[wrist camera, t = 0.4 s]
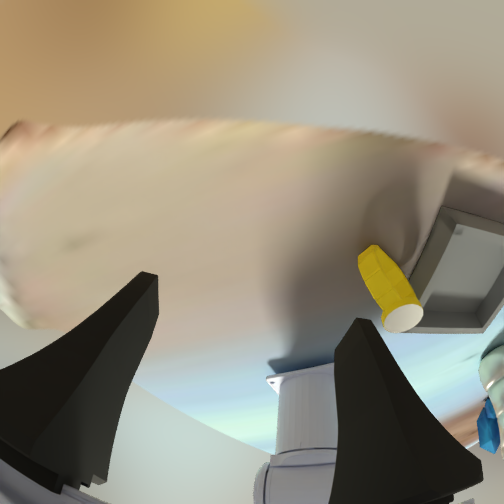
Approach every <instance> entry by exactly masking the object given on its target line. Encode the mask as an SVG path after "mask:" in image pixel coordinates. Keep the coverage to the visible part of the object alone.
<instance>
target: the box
mask: <svg viewBox="0 0 504 504" xmlns="http://www.w3.org/2000/svg"><path fill="white" fill-rule="evenodd" d="M409 283H410V285H411V287H412V289H413V290H414V293H415V295H416V297H417V299H418V300H419V302H420V303H421V306H422V308H423V316H422V319H421V320H420V321H419V323H418V324H417V325H415V326H414V327H413V328H411V329H409V330H407V331H404V332H400V333H428V334H477V333H484V331H485V330H486V329H487V328H488V326H489V325H490V324H491V322H492V321H493V319H494V318H495V317H496V315H497V314H498V312H499V311H500V310H501V308H502V307H503V305H504V224H502V223H499V222H496V221H493V220H489V219H486V218H483V217H480V216H476V215H473V214H469V213H466V212H462V211H459V210H455V209H451V208H448V207H444V206H441V209H440V212H439V214H438V217H437V219H436V222H435V224H434V227H433V229H432V232H431V234H430V236H429V239H428V241H427V243H426V246H425V248H424V250H423V252H422V255H421V257H420V259H419V261H418V263H417V265H416V268H415V270H414V272H413V274H412V276H411V278H410V280H409Z"/></svg>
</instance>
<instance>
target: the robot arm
mask: <svg viewBox="0 0 504 504" xmlns="http://www.w3.org/2000/svg"><path fill="white" fill-rule="evenodd" d="M158 315H159V300H158V275H155V274H151V273H147V272H143V271H142V272H140V273H139V274H138V275H137V276H136V277H134V278H133V279H132V280H131V281H130V282H129V283H128V284H127V285H126V286H124V287H123V288H122V289H121V290H120V291H119V292H118V293H117V294H115V295H114V296H113V297H112V298H111V299H110V300H109V301H107V302H106V303H105V304H104V305H103V306H101V307H100V308H99V309H98V310H97V311H95V312H94V313H93V314H92V315H90V316H89V317H88V318H87V319H85V320H84V321H83V322H81V323H80V324H79V325H78V326H76V327H75V328H73V329H72V330H71V331H69V332H68V333H66V334H65V335H63V336H62V337H60V338H59V339H58V340H56V341H54V342H53V343H51V344H50V345H48V346H46V347H45V348H43V349H41V350H40V351H38V352H36V353H34V354H32V355H30V356H28V357H26V358H24V359H22V360H20V361H18V362H16V363H15V364H12V365H10V366H8V367H6V368H3V369H1V370H0V504H110V503H107V502H105V501H102V500H100V499H97V498H95V497H92V496H90V495H88V494H86V493H83V492H81V491H79V488H80V485H84V486H86V487H88V488H89V487H90V484H91V482H93V483H95V484H97V485H100V484H103V483H105V482H107V476H108V469H109V463H110V457H111V452H112V448H113V443H114V438H115V434H116V430H117V426H118V422H119V418H120V414H121V411H122V407H123V404H124V401H125V397H126V394H127V392H128V389H129V386H130V384H131V382H132V379H133V377H134V375H135V373H136V370H137V368H138V366H139V364H140V362H141V359H142V357H143V355H144V353H145V350H146V348H147V346H148V344H149V342H150V339H151V337H152V334H153V331H154V328H155V325H156V322H157V318H158ZM266 381H267V382H268V383H269V385H270V386H271V387H272V388H273V389H274V390H275V391H276V393H277V394H278V395H279V406H278V423H277V438H276V452H275V455H271V459H270V462H266V463H264V464H263V466H262V467H261V468H260V469H259V470H258V472H257V474H256V478H255V482H254V492H253V496H254V504H449V503H450V502H453V500H454V495H453V494H455V493H457V492H460V491H462V490H465V489H467V488H469V487H472V486H474V485H476V484H478V483H480V482H482V481H483V471H482V464H481V460H480V459H478V458H477V457H476V456H475V455H473V454H472V453H471V452H470V451H468V450H467V449H466V448H465V447H463V446H462V445H461V444H460V443H459V442H458V441H457V440H456V439H455V438H454V437H453V436H452V435H451V434H450V433H449V432H448V431H447V430H446V429H445V428H444V427H443V426H442V425H441V423H440V422H439V421H438V420H437V419H436V418H435V417H434V415H433V414H432V413H431V412H430V411H429V409H428V408H427V407H426V405H425V404H424V403H423V401H422V400H421V399H420V398H419V396H418V395H417V393H416V392H415V390H414V389H413V387H412V386H411V384H410V383H409V381H408V380H407V378H406V377H405V375H404V374H403V372H402V371H401V369H400V367H399V366H398V364H397V362H396V361H395V359H394V357H393V356H392V354H391V352H390V351H389V349H388V347H387V346H386V344H385V342H384V341H383V339H382V337H381V336H380V334H379V332H378V331H377V329H376V327H375V326H374V324H373V323H372V321H371V320H368V319H362V318H356V319H355V320H354V322H353V324H352V325H351V327H350V328H349V330H348V331H347V333H346V334H345V336H344V337H343V339H342V340H341V342H340V343H339V345H338V346H337V347H336V349H335V355H334V362H333V363H329V364H325V365H320V366H316V367H311V368H306V369H302V370H297V371H291V372H286V373H281V374H275V375H269V376H267V377H266ZM459 504H474V499H473V498H472V499H469V500H467V501H464V502H461V503H459Z"/></svg>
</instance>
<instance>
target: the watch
mask: <svg viewBox="0 0 504 504" xmlns="http://www.w3.org/2000/svg"><path fill="white" fill-rule="evenodd" d="M358 268H359V270H360V273H361V275H362V278H363V281H365V284H366V286H367V288H368V289H369V291H370V293H371V295H372V296H373V298H374V299H376V303H377V304H378V305H379V306H380V308H381V309H382V310H383V312H382V316H381V319H382V323H383V327H384V328H385V330H386V331H389V332H391V333H400V332H404V331H407V330H409V329H411V328H413V327H414V326H415V325H417V324H418V323H419V321H420V320H421V319H422V316H423V308H422V306H421V303H420V302H419V300H418V299H417V297H416V295H415V293H414V290H413V289H412V287H411V285H410V283H409V282H408V280H407V278H405V275H404V274H403V272H402V271H401V269H400V268H399V267H398V265H397V264H396V263H395V262H394V261H393V260H392V259H391V258H390V257H389V256H388V255H387V254H386V253H385V252H384V251H383V250H382V249H381V248H380V247H379V246H378V245H371V246H370V247H368V248H367V249H366V250H365V251H364V252H362V253H361V254H360V255H359V256H358Z"/></svg>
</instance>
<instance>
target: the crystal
mask: <svg viewBox="0 0 504 504" xmlns="http://www.w3.org/2000/svg"><path fill="white" fill-rule="evenodd" d="M497 420H498V419H497V417H496V413H495V410H494V407H493V405H492V402H491V400H490V398H487V400H486V403H485V408H484V407H483V409H482V411H481V413H480V415H479V418H478V420H477V427H478V434H479V443H480V447H481V448H483V449H485V450H487V451H489V452H491V453H493V454H495V453H496V451H497V449H498V446H499V444H500V431H499V426H498V422H497Z"/></svg>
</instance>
